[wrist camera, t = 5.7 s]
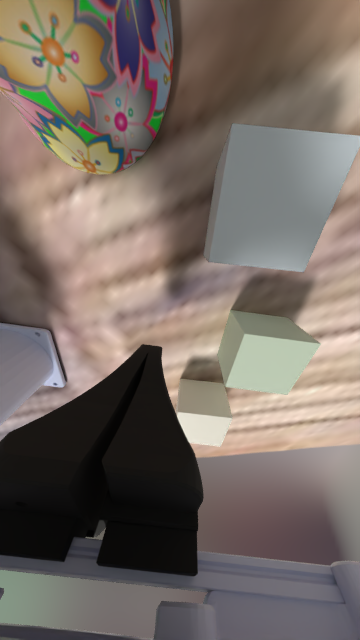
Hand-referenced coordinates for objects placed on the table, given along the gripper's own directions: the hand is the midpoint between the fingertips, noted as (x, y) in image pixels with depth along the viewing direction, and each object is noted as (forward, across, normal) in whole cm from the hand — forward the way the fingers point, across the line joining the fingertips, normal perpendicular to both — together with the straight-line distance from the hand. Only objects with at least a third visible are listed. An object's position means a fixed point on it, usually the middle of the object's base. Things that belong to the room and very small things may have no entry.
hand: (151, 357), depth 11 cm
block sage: (+4, -8, 0) cm, 10 cm away
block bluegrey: (+4, -5, -9) cm, 11 cm away
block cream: (+4, -5, +9) cm, 11 cm away
